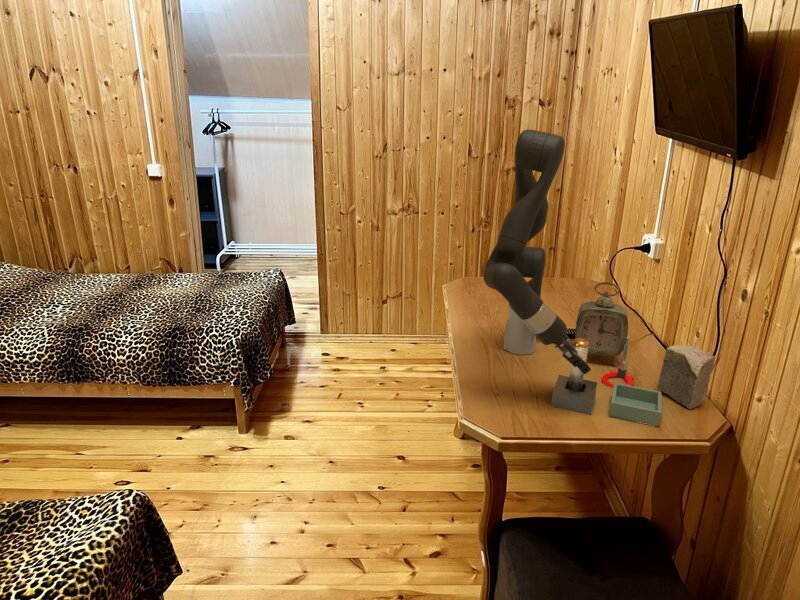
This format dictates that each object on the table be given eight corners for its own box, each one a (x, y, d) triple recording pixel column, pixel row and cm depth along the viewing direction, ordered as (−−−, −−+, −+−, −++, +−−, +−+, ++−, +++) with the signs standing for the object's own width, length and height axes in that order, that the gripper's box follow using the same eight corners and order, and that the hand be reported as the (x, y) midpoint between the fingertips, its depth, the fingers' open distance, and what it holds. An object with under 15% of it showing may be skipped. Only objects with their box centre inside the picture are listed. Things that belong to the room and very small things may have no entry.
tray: (608, 416, 145) (611, 402, 143) (612, 395, 155) (614, 382, 153) (658, 427, 140) (661, 413, 139) (658, 405, 150) (661, 391, 149)
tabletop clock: (571, 361, 174) (581, 283, 166) (572, 349, 182) (582, 274, 174) (621, 369, 170) (635, 289, 161) (620, 356, 178) (633, 280, 170)
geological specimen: (655, 392, 157) (665, 342, 152) (671, 388, 160) (682, 338, 155) (688, 410, 148) (699, 358, 143) (704, 406, 150) (716, 354, 145)
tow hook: (627, 394, 157) (637, 380, 163) (634, 352, 152) (644, 339, 159) (597, 385, 161) (607, 372, 168) (602, 344, 156) (613, 332, 163)
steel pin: (565, 394, 150) (573, 342, 144) (567, 388, 153) (575, 337, 147) (580, 397, 148) (588, 345, 143) (581, 391, 151) (589, 339, 146)
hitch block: (551, 406, 149) (552, 390, 147) (557, 389, 157) (558, 374, 156) (591, 415, 145) (593, 399, 143) (594, 397, 154) (597, 382, 152)
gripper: (561, 323, 136) (605, 372, 140) (550, 303, 150) (590, 347, 153) (536, 343, 139) (580, 390, 142) (527, 320, 152) (568, 364, 155)
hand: (585, 367), depth 148 cm, fingers closed on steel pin, 3 cm apart
